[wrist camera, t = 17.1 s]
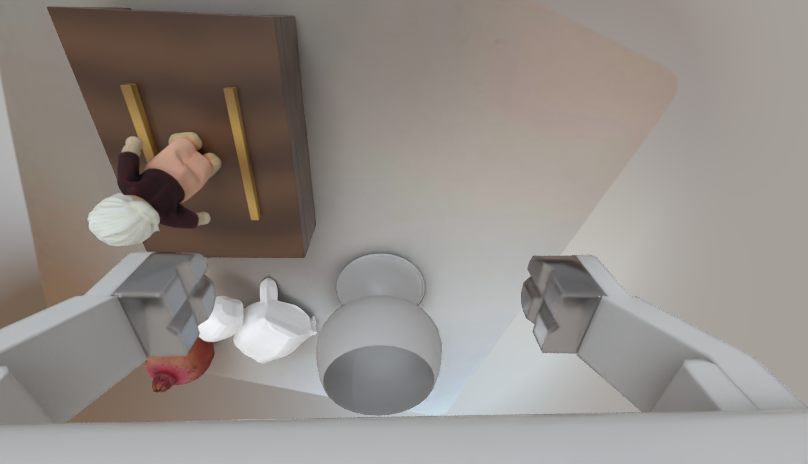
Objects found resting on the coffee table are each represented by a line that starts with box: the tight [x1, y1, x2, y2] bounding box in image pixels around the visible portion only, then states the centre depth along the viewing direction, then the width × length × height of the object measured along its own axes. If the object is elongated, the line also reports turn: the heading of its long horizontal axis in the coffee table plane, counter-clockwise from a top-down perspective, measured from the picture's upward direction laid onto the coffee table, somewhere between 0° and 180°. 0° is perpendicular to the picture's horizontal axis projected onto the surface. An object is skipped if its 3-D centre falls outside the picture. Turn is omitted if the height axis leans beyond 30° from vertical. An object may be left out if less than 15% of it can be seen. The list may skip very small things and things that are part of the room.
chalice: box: [317, 254, 442, 415], centre depth 43 cm, size 14×14×15 cm
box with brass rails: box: [47, 7, 316, 258], centre depth 34 cm, size 22×16×8 cm
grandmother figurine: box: [87, 132, 222, 246], centre depth 27 cm, size 8×4×13 cm, turn 39°
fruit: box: [145, 336, 215, 392], centre depth 48 cm, size 8×8×10 cm
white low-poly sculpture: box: [198, 278, 317, 363], centre depth 47 cm, size 9×8×15 cm
